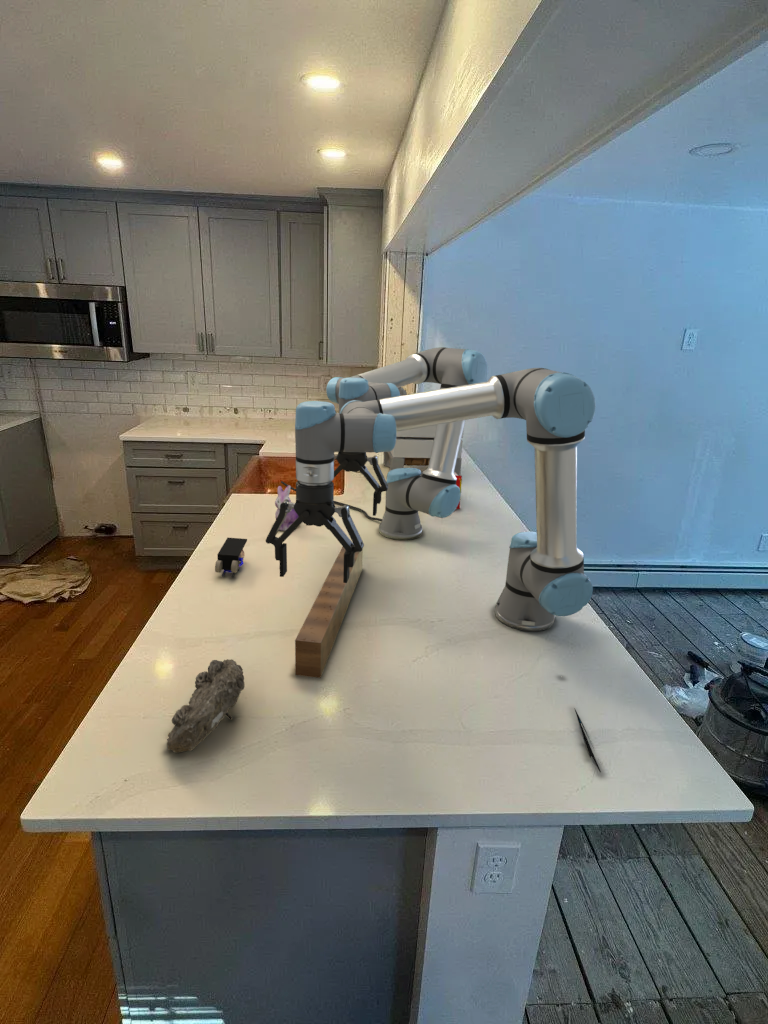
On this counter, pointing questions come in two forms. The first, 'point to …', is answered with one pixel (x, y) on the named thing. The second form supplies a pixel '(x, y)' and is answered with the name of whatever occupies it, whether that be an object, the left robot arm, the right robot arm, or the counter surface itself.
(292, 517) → the figurine
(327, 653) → the bar
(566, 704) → the counter surface
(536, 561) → the right robot arm
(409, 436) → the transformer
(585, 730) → the feather
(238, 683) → the fossil
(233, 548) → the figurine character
